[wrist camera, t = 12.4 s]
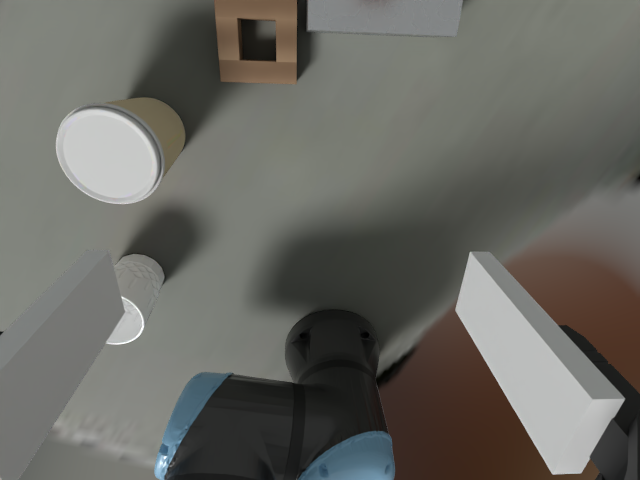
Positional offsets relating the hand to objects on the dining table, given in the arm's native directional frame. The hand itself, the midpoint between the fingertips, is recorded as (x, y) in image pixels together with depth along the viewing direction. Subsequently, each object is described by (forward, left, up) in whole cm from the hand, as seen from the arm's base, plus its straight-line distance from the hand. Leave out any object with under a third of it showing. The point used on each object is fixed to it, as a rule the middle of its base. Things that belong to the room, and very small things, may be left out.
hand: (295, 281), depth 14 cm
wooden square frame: (+8, +4, -35) cm, 36 cm away
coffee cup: (-2, +17, -35) cm, 39 cm away
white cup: (-22, +22, -35) cm, 47 cm away
